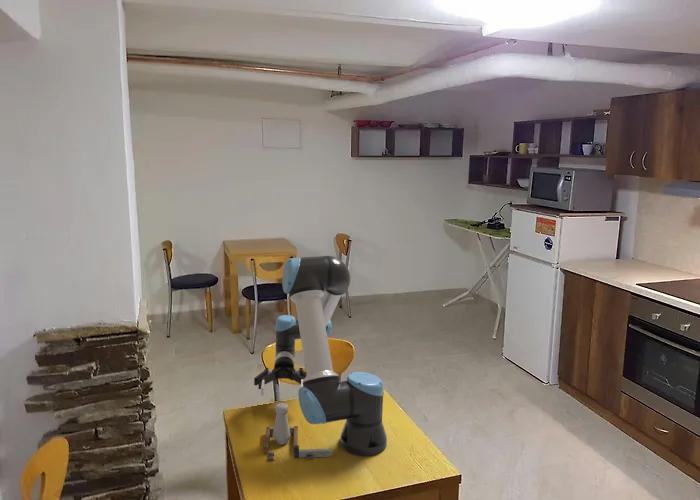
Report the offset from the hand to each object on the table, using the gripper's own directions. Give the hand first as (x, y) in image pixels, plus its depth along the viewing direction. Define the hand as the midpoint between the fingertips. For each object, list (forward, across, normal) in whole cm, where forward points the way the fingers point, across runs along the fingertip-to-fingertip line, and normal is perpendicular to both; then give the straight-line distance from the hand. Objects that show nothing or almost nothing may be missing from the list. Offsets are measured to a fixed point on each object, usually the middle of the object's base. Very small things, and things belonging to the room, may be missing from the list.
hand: (282, 391), depth 185 cm
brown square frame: (+13, -3, -12) cm, 18 cm away
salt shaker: (+10, 0, -12) cm, 16 cm away
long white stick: (+20, -9, -12) cm, 25 cm away
